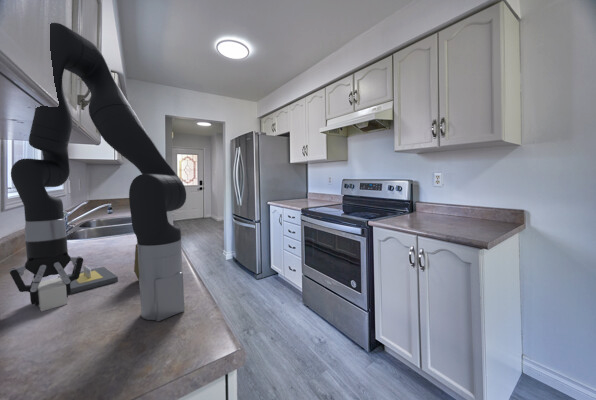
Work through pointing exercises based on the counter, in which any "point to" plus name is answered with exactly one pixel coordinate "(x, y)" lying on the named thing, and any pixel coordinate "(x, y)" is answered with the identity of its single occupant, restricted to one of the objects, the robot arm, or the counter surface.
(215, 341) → the counter surface
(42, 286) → the block
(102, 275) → the board
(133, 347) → the counter surface
